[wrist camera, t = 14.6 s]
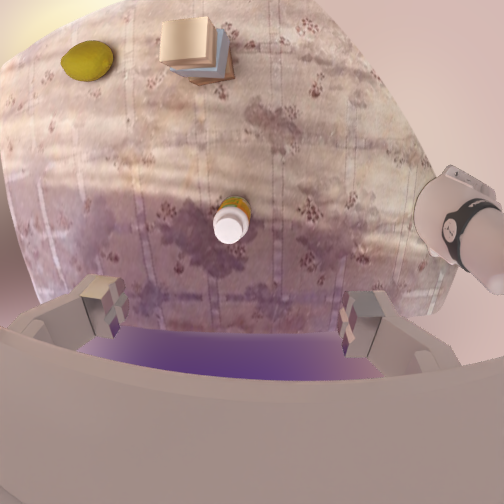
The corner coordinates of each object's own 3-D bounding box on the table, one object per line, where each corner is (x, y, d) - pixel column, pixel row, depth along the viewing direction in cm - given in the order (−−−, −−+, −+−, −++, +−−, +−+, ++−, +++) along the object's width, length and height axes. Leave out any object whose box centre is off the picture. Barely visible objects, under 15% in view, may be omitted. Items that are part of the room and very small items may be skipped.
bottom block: (229, 46, 37) (224, 36, 32) (235, 78, 40) (230, 72, 34) (193, 54, 38) (183, 45, 32) (198, 85, 40) (189, 81, 35)
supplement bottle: (241, 189, 48) (235, 206, 39) (256, 216, 50) (254, 238, 41) (214, 204, 49) (202, 223, 40) (229, 230, 51) (221, 254, 42)
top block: (229, 41, 32) (223, 29, 27) (224, 78, 35) (216, 71, 29) (189, 40, 32) (176, 29, 27) (183, 76, 35) (169, 70, 29)
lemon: (129, 50, 37) (107, 42, 30) (110, 89, 40) (86, 86, 33) (88, 39, 35) (64, 32, 28) (71, 75, 38) (46, 73, 31)
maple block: (217, 32, 27) (207, 16, 21) (215, 67, 29) (205, 57, 24) (178, 35, 27) (162, 22, 22) (176, 69, 29) (159, 61, 24)
